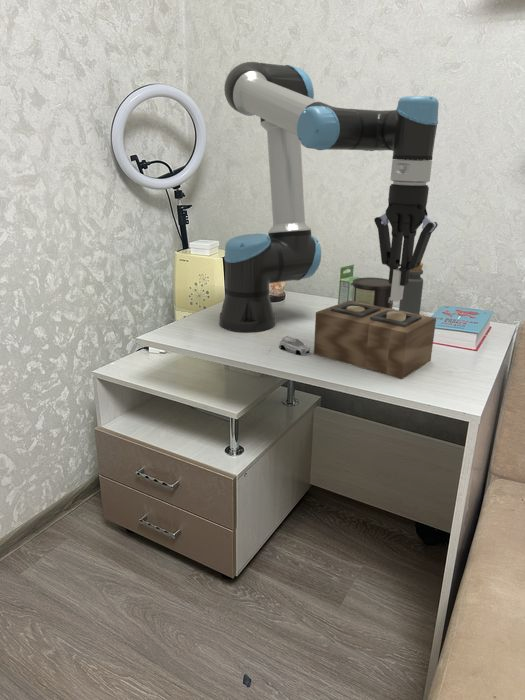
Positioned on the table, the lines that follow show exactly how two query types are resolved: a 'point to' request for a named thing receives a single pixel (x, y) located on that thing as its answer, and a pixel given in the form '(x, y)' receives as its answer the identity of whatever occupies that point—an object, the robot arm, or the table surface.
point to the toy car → (294, 346)
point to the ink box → (346, 284)
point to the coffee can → (372, 291)
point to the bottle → (412, 292)
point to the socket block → (374, 338)
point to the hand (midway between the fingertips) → (396, 299)
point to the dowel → (396, 316)
